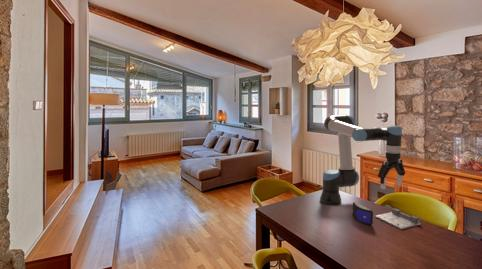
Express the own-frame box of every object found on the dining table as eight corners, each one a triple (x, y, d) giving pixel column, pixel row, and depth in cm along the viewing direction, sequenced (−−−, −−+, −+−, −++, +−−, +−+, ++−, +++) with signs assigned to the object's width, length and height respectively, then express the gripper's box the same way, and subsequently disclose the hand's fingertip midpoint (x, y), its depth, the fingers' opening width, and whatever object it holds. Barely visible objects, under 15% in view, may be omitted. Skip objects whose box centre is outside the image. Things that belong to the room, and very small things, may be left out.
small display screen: (348, 215, 171) (348, 202, 170) (354, 214, 172) (354, 201, 171) (367, 226, 155) (367, 211, 154) (373, 225, 157) (374, 210, 156)
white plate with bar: (375, 217, 168) (375, 211, 168) (393, 212, 174) (394, 207, 173) (401, 229, 151) (401, 223, 151) (420, 224, 157) (421, 218, 157)
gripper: (383, 155, 145) (381, 192, 147) (413, 151, 154) (411, 186, 157) (372, 153, 152) (370, 188, 154) (401, 149, 161) (399, 182, 164)
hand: (390, 187), depth 156 cm, fingers open, 13 cm apart
